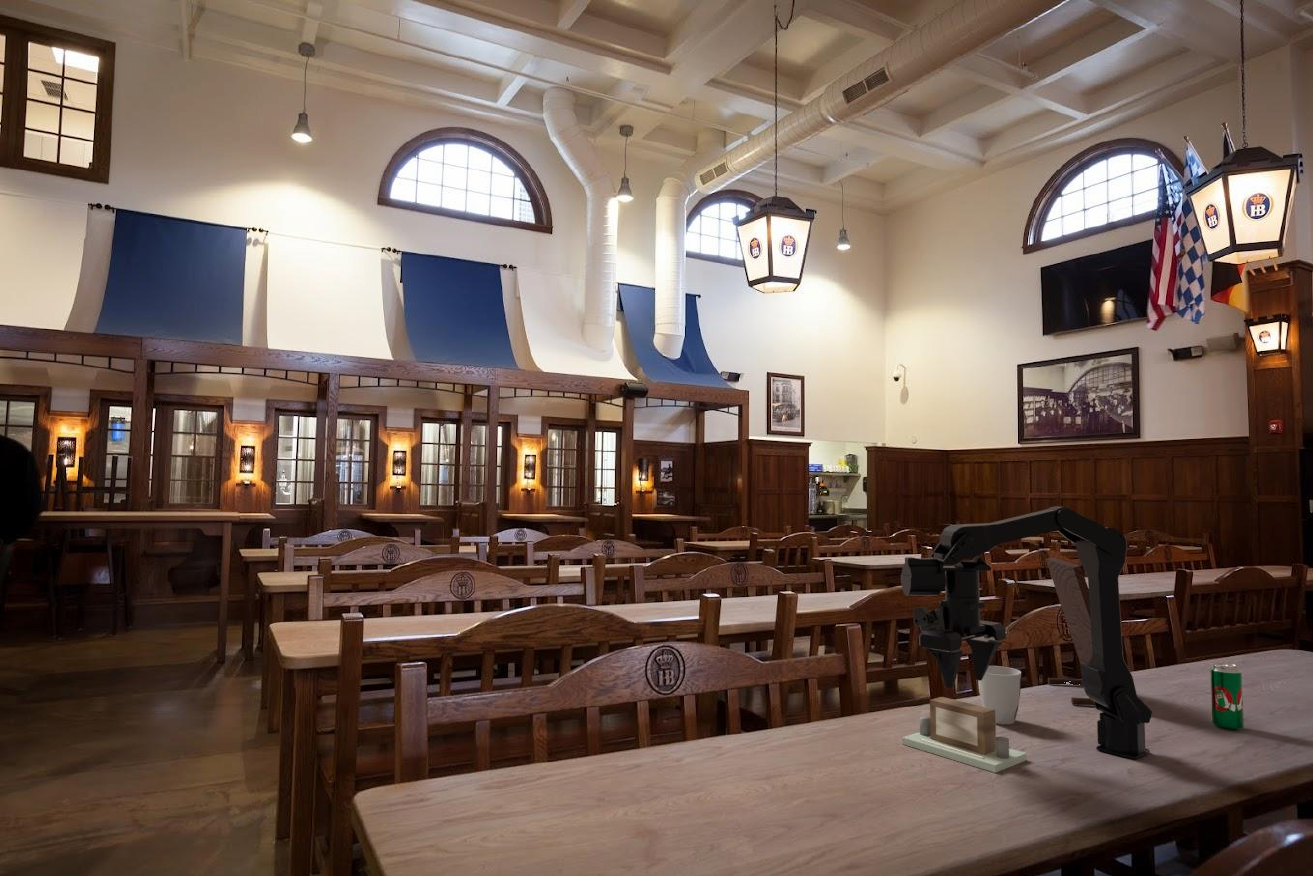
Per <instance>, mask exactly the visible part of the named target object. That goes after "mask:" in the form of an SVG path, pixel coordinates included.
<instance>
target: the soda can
mask: <svg viewBox="0 0 1313 876" xmlns="http://www.w3.org/2000/svg"><path fill="white" fill-rule="evenodd" d="M1211 665H1212V666H1211V667H1210V669H1209V672H1210V696H1211V697H1210V699H1211V722H1212V724H1213V725H1214V727H1216V728H1218V729H1221V730H1225V731H1234V732H1235V731H1241V730H1242V729H1243V728H1244V727H1245V721H1244V720H1245V718H1244V714H1245V713H1244V696H1243V695H1244V694H1243V692H1244V691H1243V672H1242V671H1241V669H1240V666H1239V665H1236V664H1232V663H1225V662H1214V663H1211Z"/></svg>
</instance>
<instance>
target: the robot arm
mask: <svg viewBox="0 0 1313 876" xmlns="http://www.w3.org/2000/svg"><path fill="white" fill-rule="evenodd" d="M1056 531H1057V532H1058V533H1059V534H1060V535H1061V536H1063V538H1065V539H1066V540H1068V541H1069V542H1071V543H1073V544H1074V545H1075V547H1076V552H1077V556H1078V559H1079V560H1078V561H1079V562H1080V563H1081V567H1083V570H1084V571H1085V573H1086V576H1087V586H1088V589H1089V604H1090V620H1091V636H1092V657H1091V659H1090V661H1089V664H1088V665H1086V664H1080V665H1079V666H1080V667H1079V669H1080V673H1081V679H1082V681H1081V684H1080V685H1079V686H1080V687H1083V688H1084V692H1085V695H1086V696H1087V698H1090V699H1091V700H1093V703H1094V705H1093V706H1094V707H1095V708H1094V709H1096V710H1097V711H1100V713H1099V719H1098V720H1097V722H1096V726H1097V727H1096V730H1097V743H1098V745H1097V746H1096V751H1100V752H1103V753H1108V754H1112V755H1116V756H1120V757H1125V758H1128V759H1132V760H1137V759H1139V758H1141V757H1144V756H1145V755H1147V754H1150V753H1151V750H1150V749H1149V748H1146V747H1147V746H1146V726H1145V724H1149V723H1150V721H1151V718H1152V716H1153V711H1152V709H1151V708H1150V707H1149V706H1148V705H1146V704H1145V703H1144V702H1143V701H1142V699H1140V698H1139V697H1138V696H1137V690H1136V685H1135V681H1134V677H1133V675H1132V673H1131V670H1130V668H1129V667H1128V665H1127V663H1126V661H1125V658H1124V650H1123V635H1122V632H1123V631H1122V617H1121V604H1120V601H1121V600H1120V587H1119V585H1120V583H1119V576H1120V574H1121V572H1122V570H1123V568H1124V566H1125V565H1126V559H1127V550H1128V549H1127V548H1128V541H1127V537H1126V536H1125V534H1124V533H1122V532H1121V531H1120V530H1119V529H1116V528H1113V527H1106V526H1104V525H1102V524H1101V523H1098V522H1096V521H1094V520H1092V519H1090V518H1088V517H1085V516H1083V515H1082V514H1079V513H1077V512H1076V511H1075V510H1073V509H1071V508H1070V507H1067V506H1050V507H1049V508H1047V509H1043V510H1039V511H1035V512H1030V513H1026V514H1022V515H1018V516H1014V517H1011V518H1010V517H1009V518H1005V519H1002V520H997V521H993V522H989V523H988V522H986V523H962V524H951V525H948V526H946V527H945V528H944V529H943V531H942V532H941V534H940V540H939V543H938V544H937V545H936V547H935V548H934V550H933V551H932V552H931V554H930V555H929V556H928V557H919V558H917V557H914V556H913V557H912V556H906V557H904V564H903V566H902V570H901V573H900V584H901V589H902V592H903V594H904V595H905V596H907V597H908V596H919V597H920V596H929V597H931V596H937V597H938V596H939V595H940V594H941V592H944V591H945V599H943V600H940V601H939V605H938V608H937V609H934V610H933V609H932V610H929V609H928V608H927V607H926V606H922V607H918V608H915V609H914V608H913V618H912V619H913V621H912V623H913V624H914V625H915V626H916V627H919V629H920V631H921V632H920V633H919V634H918V641H919V643H918V644H919V647H921V648H923V649H924V650H925V652H926V651H927V652H929V653H930V654H931V655H932V656H933V657H934V658H935V660H936V662H937V664H938V667H939V671H940V673H941V676H942V678H943V682H944V684H945V687H946V688H948V689H954V686H955V683H956V680H957V676H958V672H959V667H960V664H961V663H960V662H961V659H962V656H963V650H961V648H962V645H963V641H965V642H966V643H967V645H968V646H969V647H970V649H971V657H972V664H973V666H972V667H973V673H974V678H975V680H976V681H978V680H980V681H981V680H982V679H983V677H984V675H985V673H986V671H987V669H988V666H990V664H991V662H992V660H993V659H994V656H995V654H996V653H997V651H998V649H999V648H1000V646H1001V645H1003V640H1007V635H1006V634H1007V631H1006V630H1007V629H1006V627H1004V625H1003V624H1002V623H1001V622H996V621H995V622H993V621H988V620H981V609H984V608H986V605H985V603H986V601H981V599H980V572H981V571H983V572H985V571H986V572H990V571H991V570H992V567H991V566H990V565H989V564H988V563H987V562H985V560H984V559H983V557H981V556H982V555H984V554H985V553H988V552H989V551H991V550H993V549H995V548H996V547H997V546H1000V545H1002V544H1005V543H1009V542H1015V541H1019V540H1022V539H1025V538H1026V539H1027V538H1031V537H1035V536H1039V535H1044V534H1047V533H1052V532H1056ZM964 559H966V560H964ZM968 559H969V560H968ZM970 559H972V560H970Z"/></svg>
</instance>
